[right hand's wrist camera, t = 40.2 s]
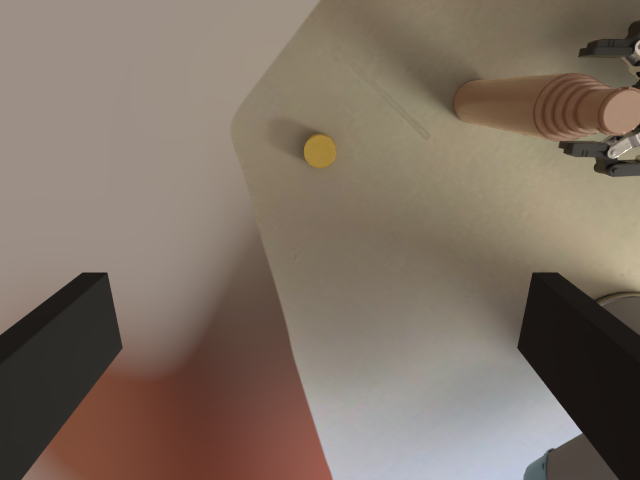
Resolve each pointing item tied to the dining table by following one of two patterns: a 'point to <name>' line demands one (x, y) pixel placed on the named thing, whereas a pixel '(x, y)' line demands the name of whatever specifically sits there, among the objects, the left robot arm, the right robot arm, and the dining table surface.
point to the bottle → (549, 106)
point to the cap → (319, 150)
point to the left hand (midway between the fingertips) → (573, 100)
